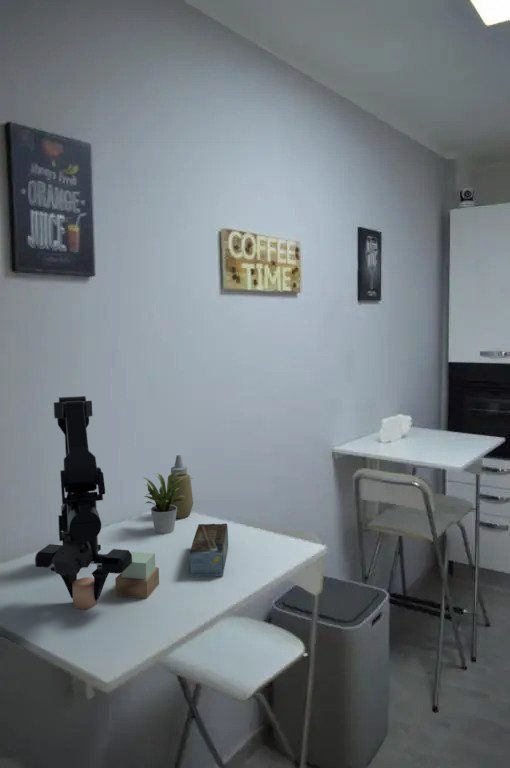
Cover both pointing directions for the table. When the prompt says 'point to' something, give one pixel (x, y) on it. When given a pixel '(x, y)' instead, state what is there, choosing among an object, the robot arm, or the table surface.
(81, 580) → the pink domed cylinder
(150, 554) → the top block
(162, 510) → the house plant
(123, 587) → the base block
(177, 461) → the squeeze bottle
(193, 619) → the table surface
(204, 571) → the beverage carton
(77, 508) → the robot arm
